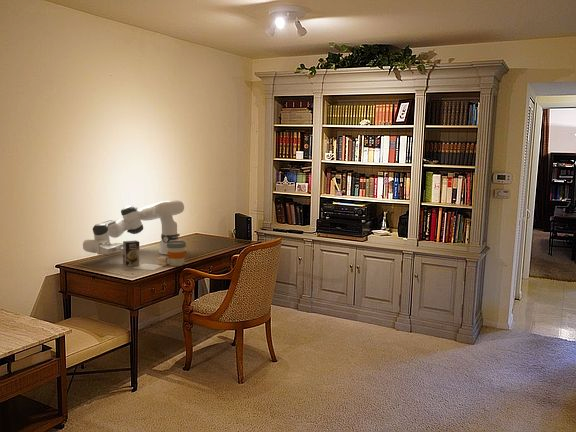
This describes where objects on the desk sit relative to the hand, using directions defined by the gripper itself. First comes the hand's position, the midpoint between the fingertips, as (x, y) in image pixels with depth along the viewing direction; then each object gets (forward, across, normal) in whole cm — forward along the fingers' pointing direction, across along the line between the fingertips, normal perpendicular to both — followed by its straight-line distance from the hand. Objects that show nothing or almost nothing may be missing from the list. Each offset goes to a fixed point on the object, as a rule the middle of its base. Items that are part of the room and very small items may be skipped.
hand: (123, 249), depth 345 cm
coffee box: (+5, -1, -11) cm, 12 cm away
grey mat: (+18, -1, -10) cm, 21 cm away
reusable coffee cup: (+31, -15, -10) cm, 36 cm away
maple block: (+23, -11, -11) cm, 27 cm away
